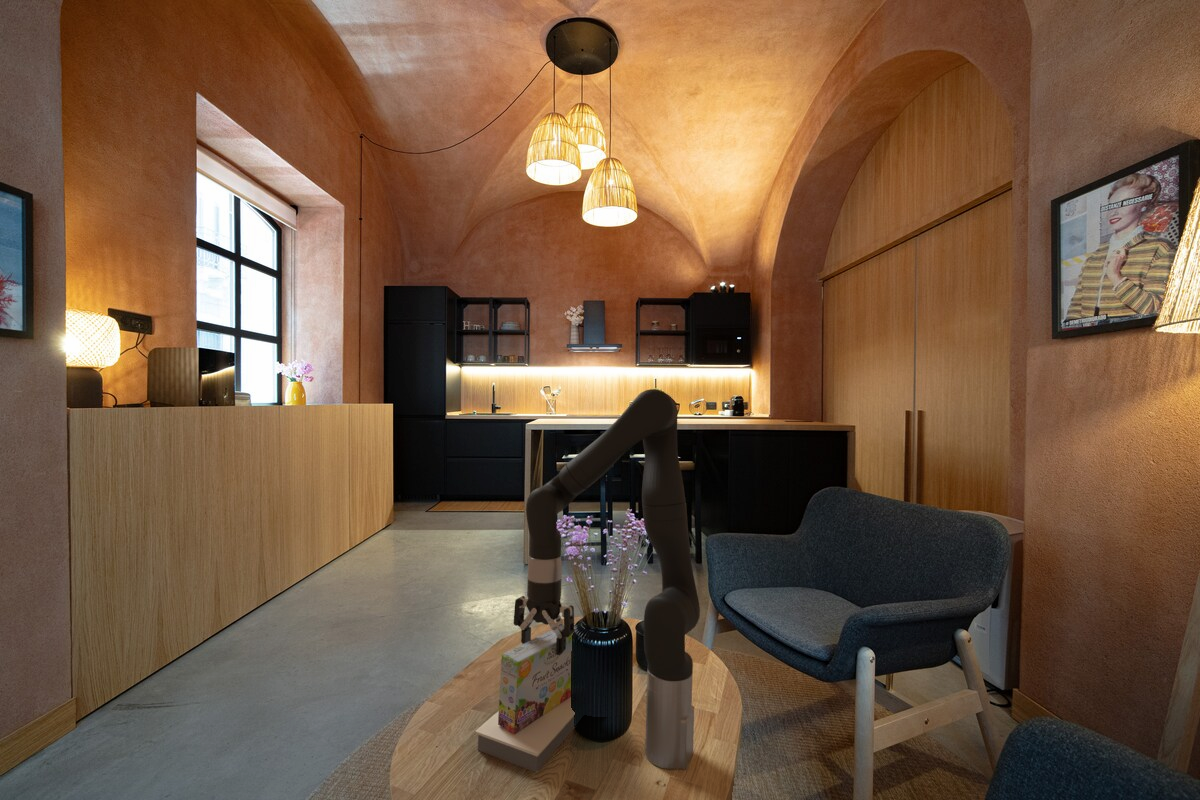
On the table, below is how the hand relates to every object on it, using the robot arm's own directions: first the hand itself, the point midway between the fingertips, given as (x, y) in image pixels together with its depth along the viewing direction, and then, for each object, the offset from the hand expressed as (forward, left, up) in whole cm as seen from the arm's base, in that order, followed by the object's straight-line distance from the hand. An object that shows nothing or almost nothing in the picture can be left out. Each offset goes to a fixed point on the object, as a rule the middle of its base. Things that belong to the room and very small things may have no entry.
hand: (542, 649), depth 115 cm
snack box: (0, 0, -13) cm, 13 cm away
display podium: (0, 0, -17) cm, 17 cm away
